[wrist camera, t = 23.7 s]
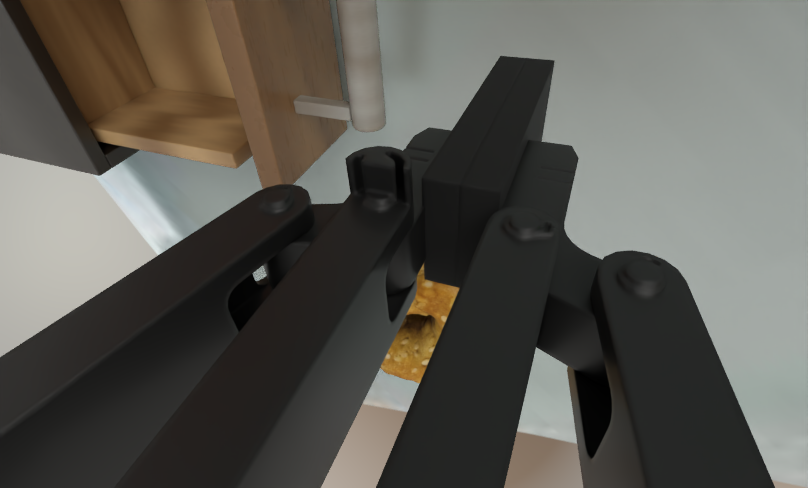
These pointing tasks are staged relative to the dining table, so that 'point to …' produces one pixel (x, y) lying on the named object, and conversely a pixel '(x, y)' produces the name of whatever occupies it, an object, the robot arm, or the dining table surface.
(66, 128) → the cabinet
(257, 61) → the drawer
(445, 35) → the dining table surface
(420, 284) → the bagel
